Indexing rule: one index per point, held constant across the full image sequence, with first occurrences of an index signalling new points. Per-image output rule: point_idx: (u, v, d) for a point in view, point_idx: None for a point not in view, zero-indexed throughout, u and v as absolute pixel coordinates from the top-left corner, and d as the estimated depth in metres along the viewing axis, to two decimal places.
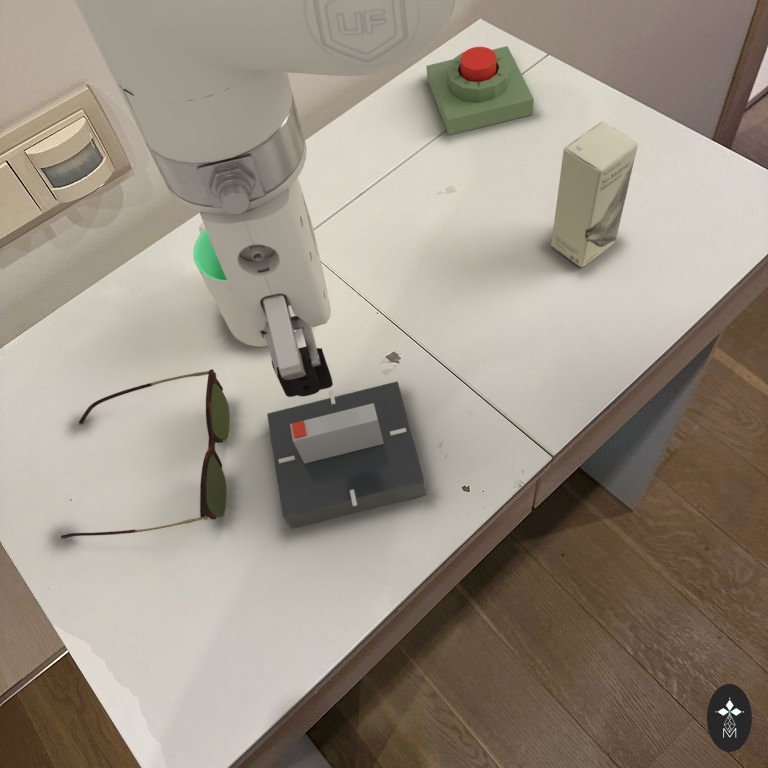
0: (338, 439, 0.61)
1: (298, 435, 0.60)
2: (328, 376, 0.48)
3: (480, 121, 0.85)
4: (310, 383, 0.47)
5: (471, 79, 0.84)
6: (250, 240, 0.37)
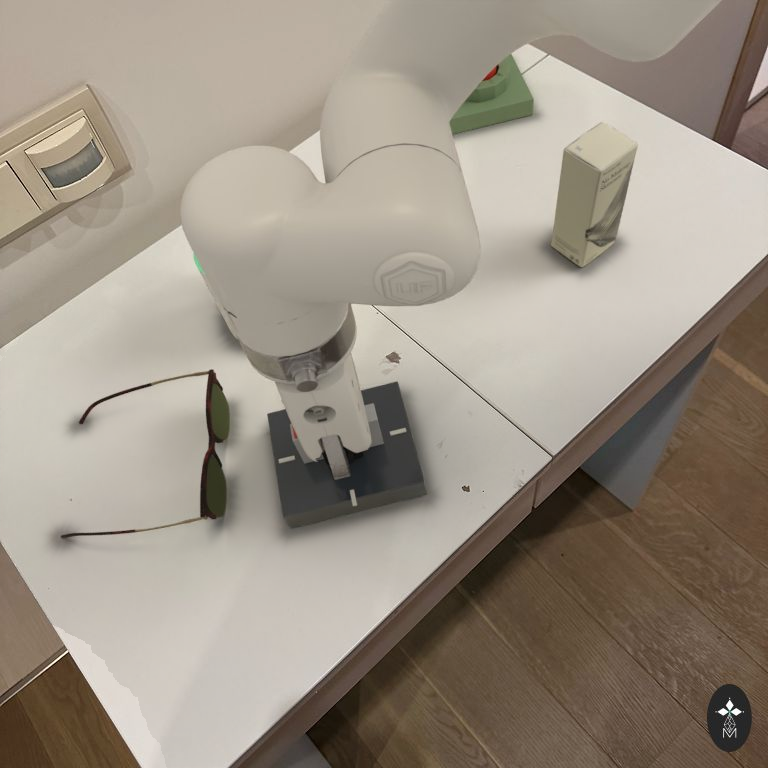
0: None
1: None
2: None
3: (480, 121, 0.85)
4: (347, 457, 0.61)
5: None
6: (314, 402, 0.48)
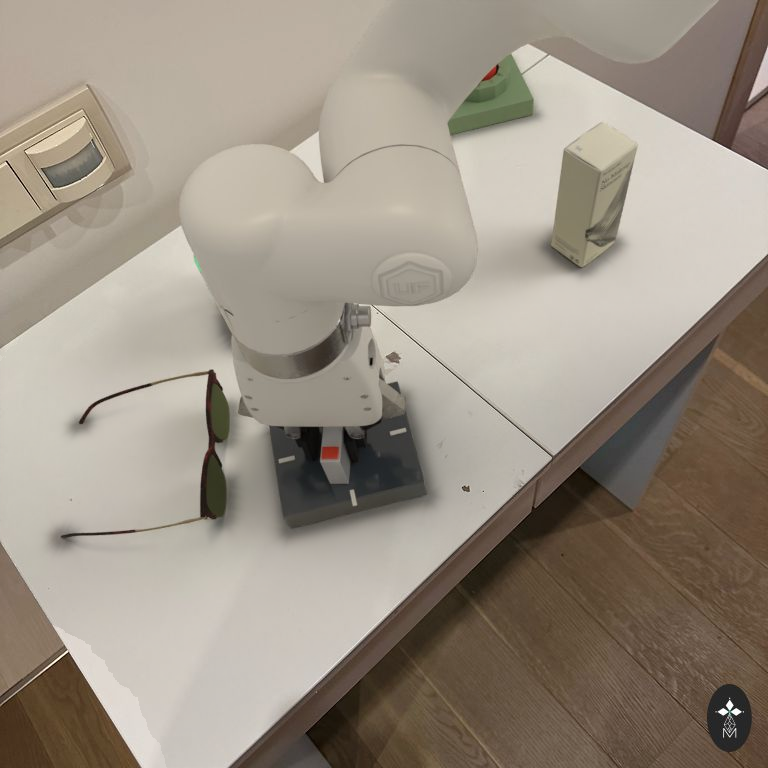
0: None
1: (336, 454, 0.58)
2: None
3: (480, 121, 0.85)
4: (365, 430, 0.62)
5: None
6: (366, 343, 0.50)
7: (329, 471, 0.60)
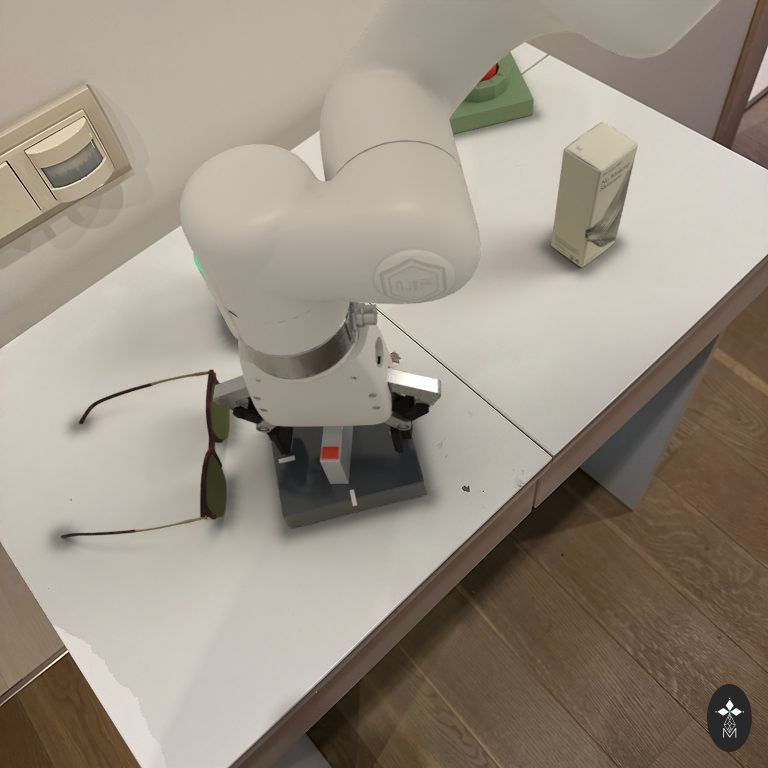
0: (346, 431, 0.61)
1: (336, 454, 0.58)
2: None
3: (480, 121, 0.85)
4: None
5: None
6: (373, 342, 0.50)
7: (329, 471, 0.60)
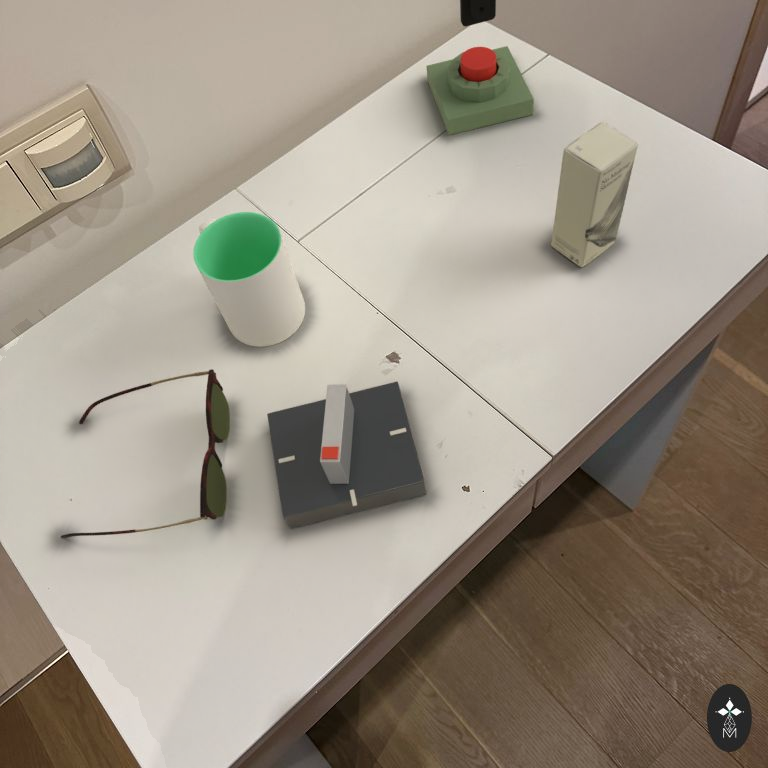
0: (346, 431, 0.61)
1: (336, 454, 0.58)
2: (494, 5, 0.68)
3: (480, 121, 0.85)
4: (484, 4, 0.67)
5: (471, 79, 0.84)
6: None
7: (329, 471, 0.60)
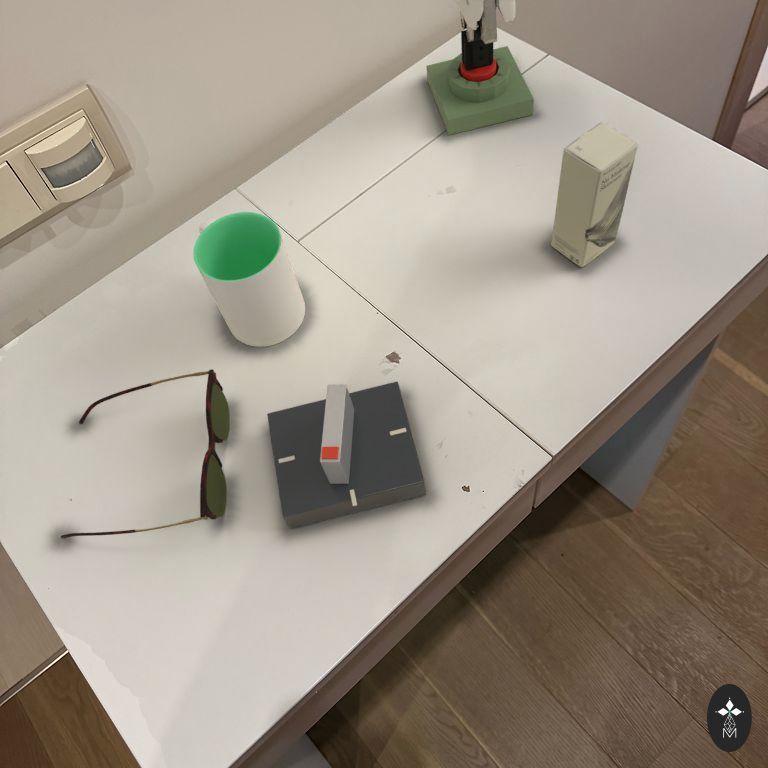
0: (346, 431, 0.61)
1: (336, 454, 0.58)
2: (492, 54, 0.83)
3: (480, 121, 0.85)
4: (483, 54, 0.82)
5: None
6: None
7: (329, 471, 0.60)
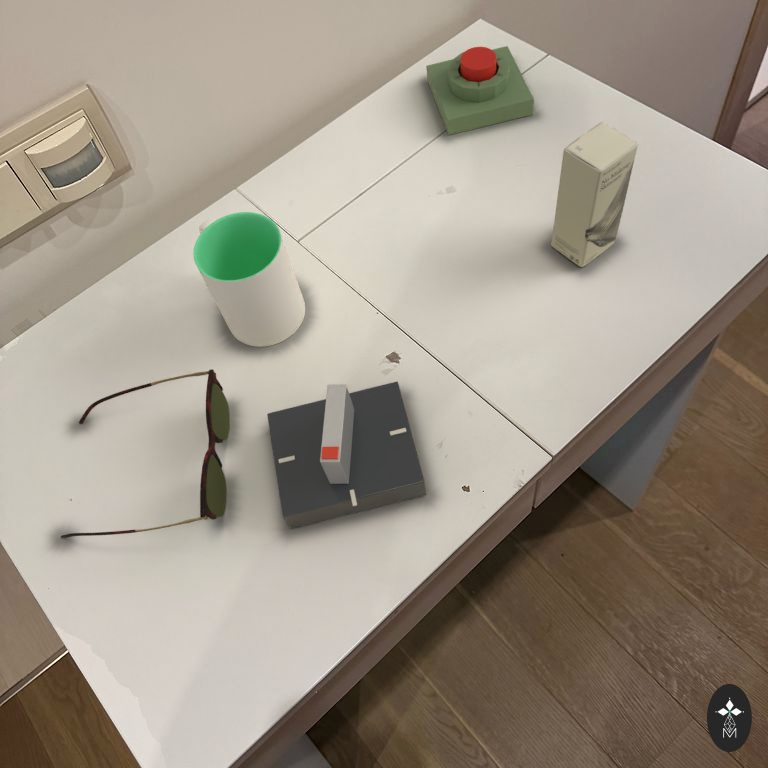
0: (346, 431, 0.61)
1: (336, 454, 0.58)
2: None
3: (480, 121, 0.85)
4: None
5: (471, 79, 0.84)
6: None
7: (329, 471, 0.60)
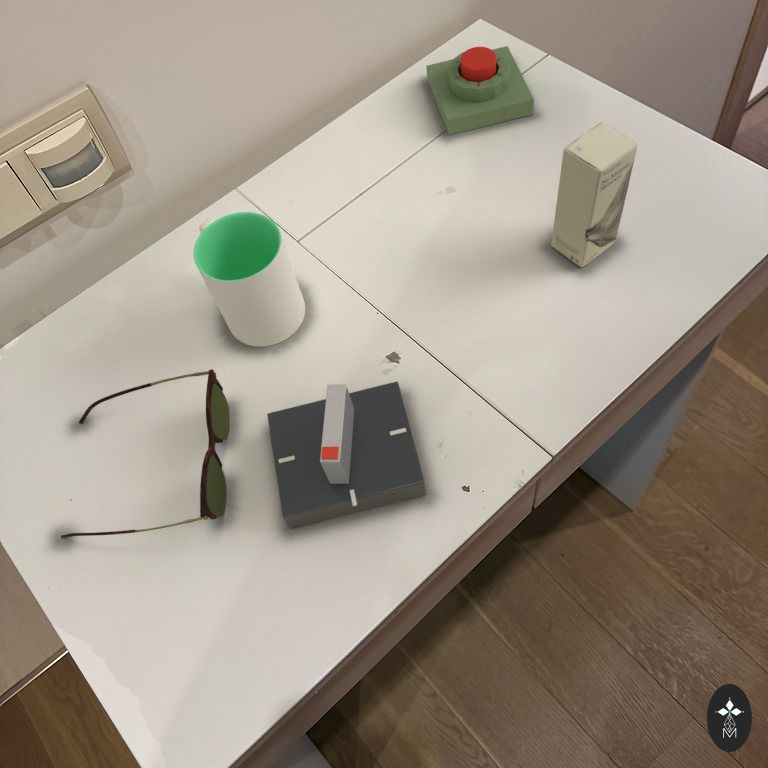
0: (346, 431, 0.61)
1: (336, 454, 0.58)
2: None
3: (480, 121, 0.85)
4: None
5: (471, 79, 0.84)
6: None
7: (329, 471, 0.60)
